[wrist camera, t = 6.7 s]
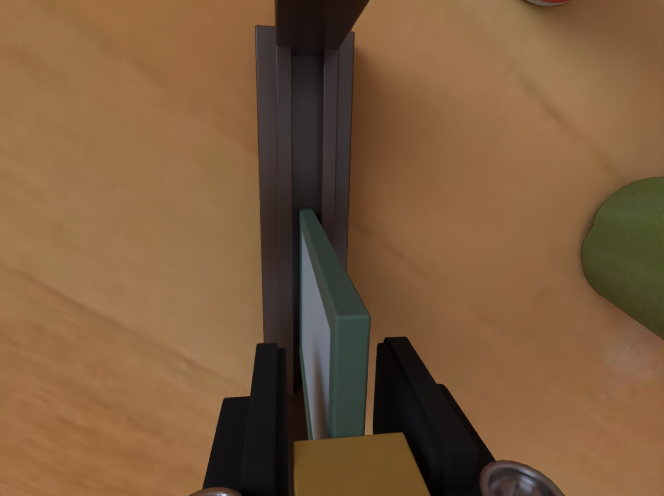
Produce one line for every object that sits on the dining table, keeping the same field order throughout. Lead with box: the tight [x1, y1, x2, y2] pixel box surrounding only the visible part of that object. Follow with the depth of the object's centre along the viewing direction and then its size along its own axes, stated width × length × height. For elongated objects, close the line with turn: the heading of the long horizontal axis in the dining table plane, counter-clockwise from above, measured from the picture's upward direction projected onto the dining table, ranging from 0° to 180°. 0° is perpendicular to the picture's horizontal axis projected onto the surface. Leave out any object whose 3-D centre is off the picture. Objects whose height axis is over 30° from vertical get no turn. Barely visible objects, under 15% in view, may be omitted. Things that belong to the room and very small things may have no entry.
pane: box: [292, 208, 431, 496], centre depth 11 cm, size 2×7×14 cm, turn 179°
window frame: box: [255, 0, 369, 496], centre depth 12 cm, size 4×17×13 cm, turn 179°
